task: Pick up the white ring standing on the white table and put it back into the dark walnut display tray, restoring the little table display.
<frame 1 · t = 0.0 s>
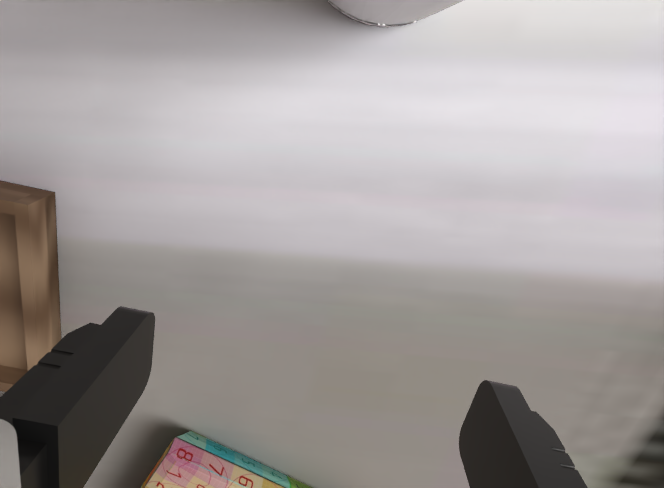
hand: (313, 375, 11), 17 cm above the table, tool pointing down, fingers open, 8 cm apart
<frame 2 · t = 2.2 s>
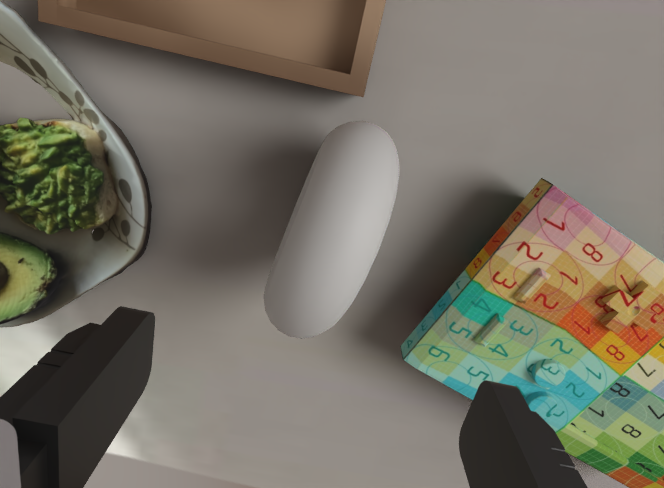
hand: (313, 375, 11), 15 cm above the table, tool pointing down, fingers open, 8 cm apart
puzzle game: (579, 329, 28), on the table
white ring: (331, 197, 25), on the table
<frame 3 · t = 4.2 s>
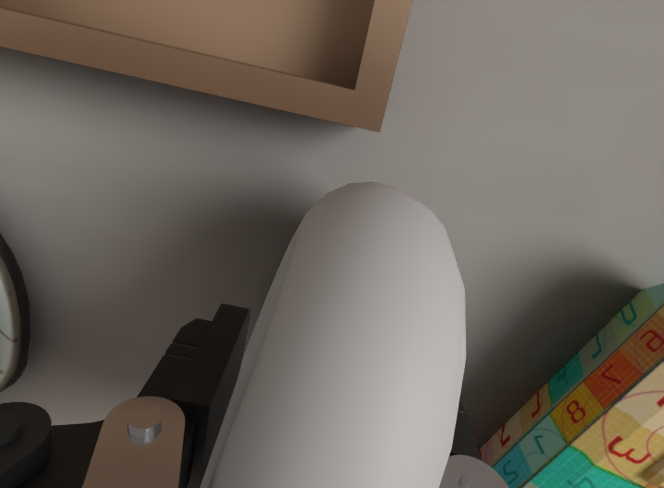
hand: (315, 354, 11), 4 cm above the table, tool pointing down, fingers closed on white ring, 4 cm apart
white ring: (324, 285, 15), on the table, touching gripper
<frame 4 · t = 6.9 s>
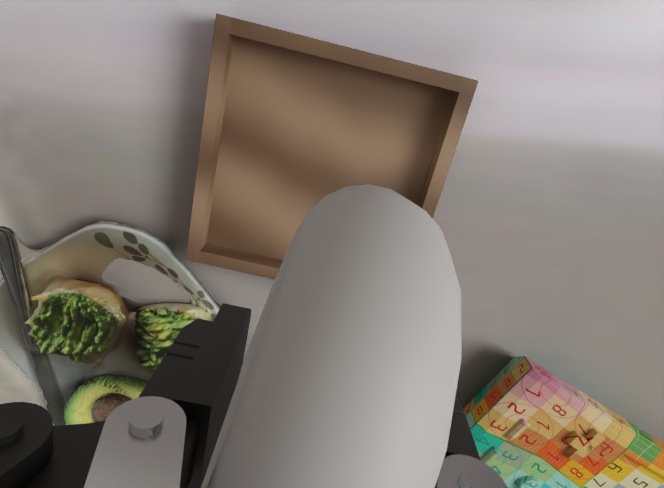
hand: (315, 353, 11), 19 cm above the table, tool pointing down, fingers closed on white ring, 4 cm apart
display tray: (322, 169, 29), on the table
salad plate: (128, 336, 34), on the table
puzzle game: (554, 441, 37), on the table
white ring: (325, 287, 15), point 15 cm above the table, touching gripper
when the fingers open (6 cm above the table, at t = 9.5 s): white ring drops 1 cm, resting on display tray.
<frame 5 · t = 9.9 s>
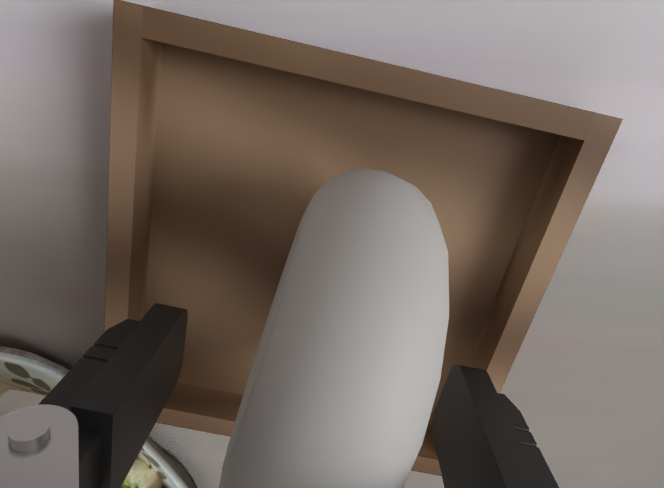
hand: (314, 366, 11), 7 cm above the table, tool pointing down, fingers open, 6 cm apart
display tray: (325, 258, 17), on the table
salad plate: (42, 487, 23), on the table
white ring: (331, 269, 17), point 1 cm above the table, touching display tray
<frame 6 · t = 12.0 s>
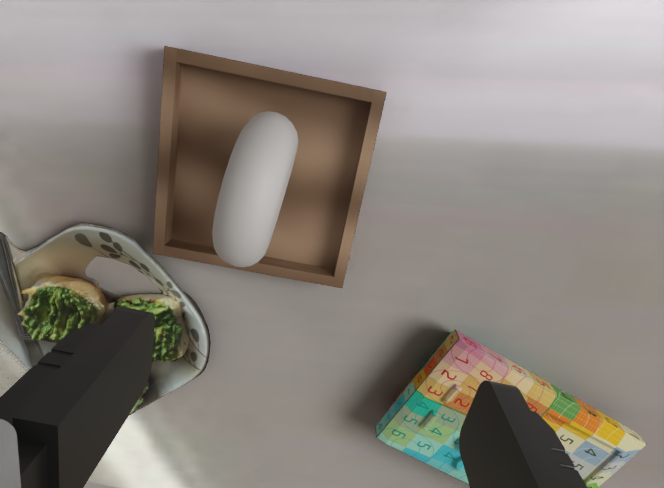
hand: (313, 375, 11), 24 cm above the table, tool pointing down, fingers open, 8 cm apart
display tray: (267, 171, 33), on the table
salad plate: (109, 325, 39), on the table
puzzle game: (495, 408, 42), on the table
white ring: (269, 174, 33), point 1 cm above the table, touching display tray
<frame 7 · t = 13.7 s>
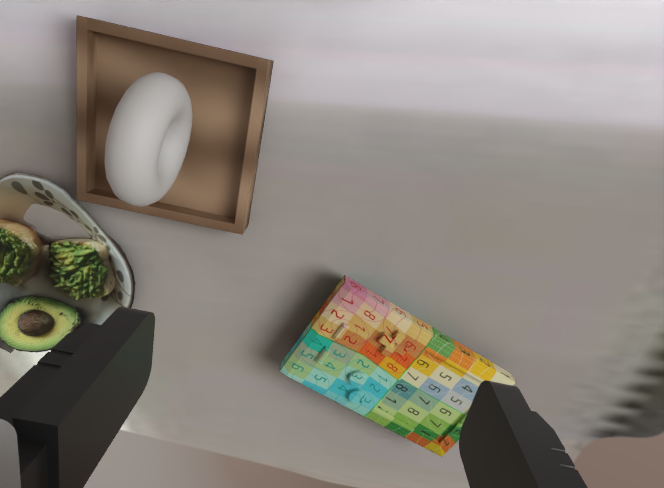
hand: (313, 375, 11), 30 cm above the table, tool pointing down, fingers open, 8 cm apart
display tray: (177, 130, 38), on the table
salad plate: (48, 267, 44), on the table
puzzle game: (393, 352, 47), on the table
white ring: (177, 132, 38), point 1 cm above the table, touching display tray
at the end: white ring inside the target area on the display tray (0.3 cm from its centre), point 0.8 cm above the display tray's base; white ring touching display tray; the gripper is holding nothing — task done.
